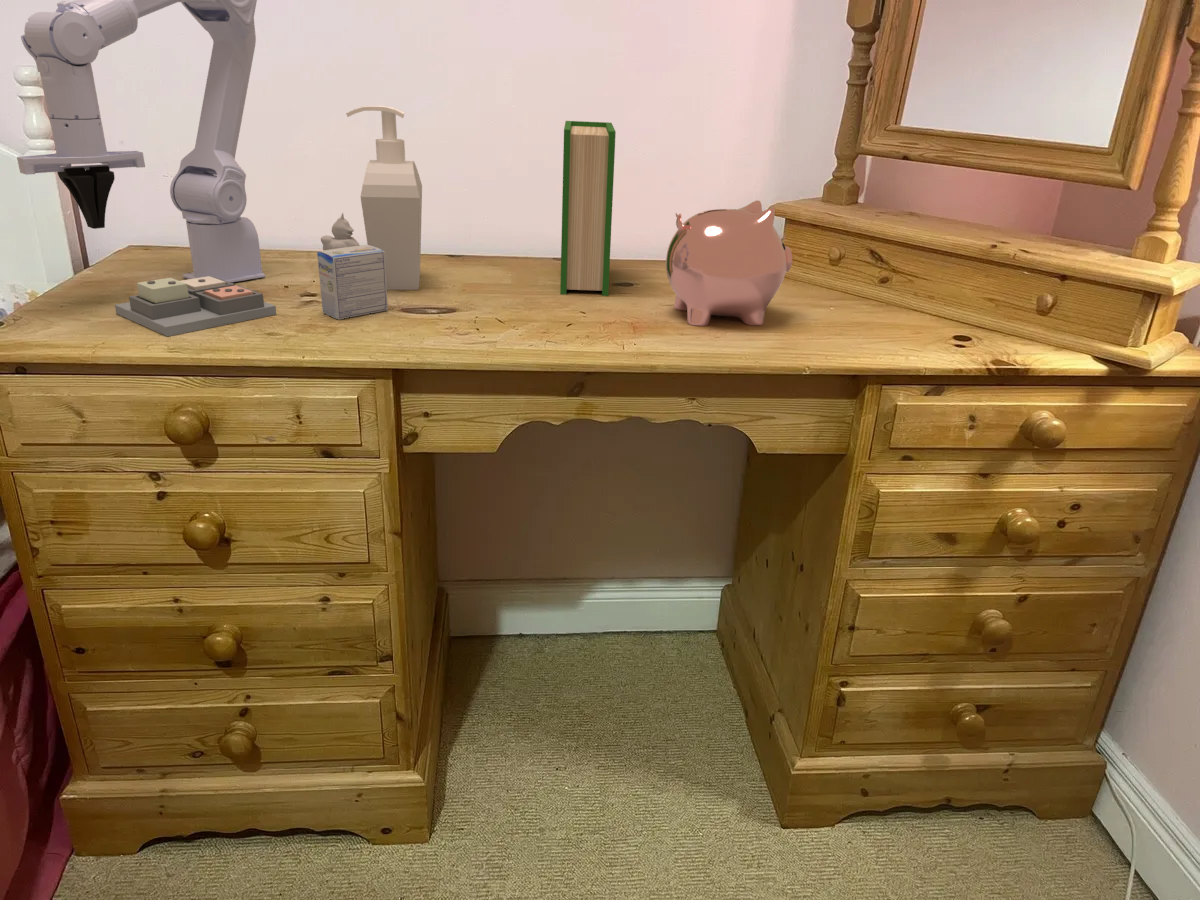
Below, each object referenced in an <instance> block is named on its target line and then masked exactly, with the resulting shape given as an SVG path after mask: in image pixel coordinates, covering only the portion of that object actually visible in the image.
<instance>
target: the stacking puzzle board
mask: <svg viewBox="0 0 1200 900" xmlns="http://www.w3.org/2000/svg"><path fill="white" fill-rule="evenodd" d="M210 277H213V276H210ZM213 278H216V277H213ZM216 279H219V278H216ZM219 280H221V281H224V282H225V283H226V285H221V286H215V287H209V288H203V289H197V290H193V289H190V288H188V294H189V298H183V299H177V300H172V301H166V302H160V303H153V302H151V301H148V300H146V299H143V298H141V297H139V294H136V295H135V294H134V295H130V296H128V300H129V301H128V302H122V303H121V302H120V303H116V304H114V309H115V314H116V315H118V316H121V317H123V318H126V319H127V320H129V321H131V322H134V323H136V324H138V325H140V326H143V327H145V328H146V329H147V328H148V329H150V330H152V331H154V332H156V333H158V334H159V335H160V334H161V335H163V336H165V337H172V336H177V335H181V334H187V333H191V332H195V331H201V330H206V329H207V330H208V329H211V328H216V327H222V326H225V325H230V324H231V325H232V324H236V323H240V322H241V323H242V322H245V321H251V320H255V319H260V318H265V317H271V316H276V315H277V306H276V305H274V304H272V303H269V302H265V301H264V300H265V298H264V293H261V292H259V291H256V290H252V289H250V288H247V287H244V286H242V285H238V284H237V285H236V283H234V282H231V283H230V282H228V281H225V280H222V279H219ZM235 285H236V286H239V287H241V288H244V289H247V290H250V291H253V294H252V295H247V296H241V297H236V298H230V299H225V300H219V299H216V298H214V297H211V296H208V295H206V294H205V292H204V291H205V290H211V289H217V288H223V287H229V286H235Z"/></svg>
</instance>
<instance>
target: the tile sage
mask: <svg viewBox="0 0 1200 900" xmlns="http://www.w3.org/2000/svg"><path fill="white" fill-rule="evenodd" d="M181 281H182V280H178V279H175V278H173V277H166V278H159V279H153V280H147V281H141V282H136V287H137V293H138V294H137V295H139V297H141V298H143V299H146V300H148V301H151V302H153V303H160V302H166V301H172V300H177V299H183V298H189V294H188V288H187V284H186V283H183V282H181Z"/></svg>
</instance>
